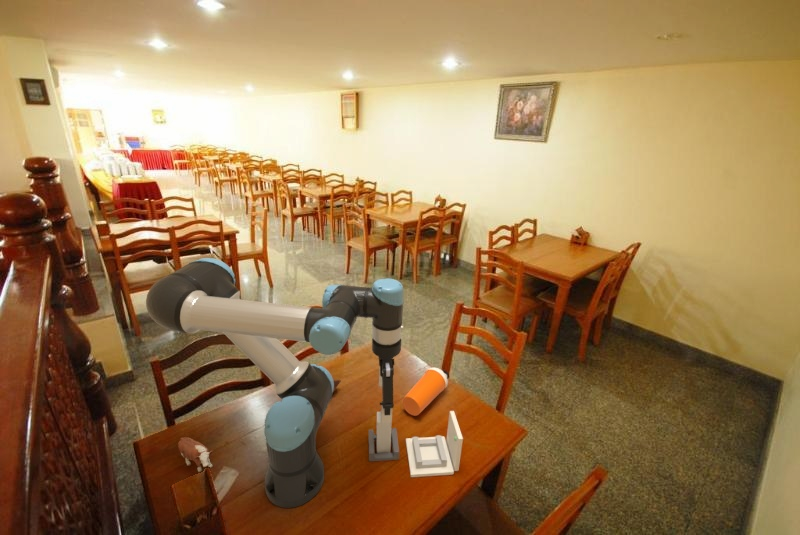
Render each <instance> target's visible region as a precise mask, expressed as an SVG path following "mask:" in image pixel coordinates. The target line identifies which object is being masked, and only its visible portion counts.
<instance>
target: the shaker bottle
mask: <svg viewBox="0 0 800 535" xmlns="http://www.w3.org/2000/svg"><path fill="white" fill-rule="evenodd" d="M449 378H450V374H449V372H447V371H446V370H444V369H440V368H438V367H434V366H433V367H429V368H428V369H427V370H426V371H425V372H424V374H423V375H422V376H421V377H420V379H419V380H418V381H417V382H416V383H415V384H414V386H412V387H411V389H410V390H409V391H408V392H407V393H406V395H405V396H404V397H403V398H402V402H401V404H402V407H403V409H404V410H405V411H406V412H407V413H408V414H409V415H411V416H413V417H414V416H415V417H416V416H419V415H420V414H421V413H422V412H423V411H424V410H425V408H427V407H428V406H429V405H430V404H431V403H432V402H433V401H434V399H436V398H437V396H439V394H441V393H442V392H444V391H445V389H446V388H447V387H448V385H449V382H448V381H449Z"/></svg>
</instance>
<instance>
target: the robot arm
mask: <svg viewBox="0 0 800 535" xmlns="http://www.w3.org/2000/svg"><path fill="white" fill-rule="evenodd" d="M235 285H236V278H235V273H234V271H233V269H232V268H231V267H230V266H229V265H228V264H227V263H226V262H223V261H222V260H220V259H217V258H212V257H203V258H200V259H197V260H194V261H190V262H189V263H187V264H185V265H184V266H182V267H180V268H178V269H177V270H175V271H173V272H171V273H169V274H168V275H165V276H164V277H161V278H160V279H158V280H157V281H156V282H155V283H154V284H152V286H151V287H150V288H149V290H148V292H147V294H146V299H145V307H146V312H147V313H148V315H149V317H150V318H151V320H152V321H154V322H155V323H156V324H157V325H159V326H160V327H162V328H164V329H167V330H169V331H173V332H176V333H183V334H184V333H185V334H196V333H199V332H200V331H206V332H207V331H208V332H217V333H223V334H224V335H225V336H226V337H227V338H228V339H229V340H230V342H232V344H234V345H235V346H236V347H237V348H238V349H239V350H240V351H241V352H242V353H243V354H244V355H245V356H246V357H247V358H248V360H250V361H251V362H252V363H253V364H254V365H255V366H256V367H257V368H258V369H259V370H260V371H261V372H262V373H263V374H264V375H265V376H266V377H267V378H268V379H269V380H270V381H271V382H272V383H274V385H275V391H274V392H275V394H276V396H278V398H280V399H281V401H276V402H274V403H273V404H272V405H271V406H270V408H269V410H268V411H267V412H266V415H265V418H264V427H263V430H264V431H263V432H264V437H265V444H266V448H267V451H266V452H267V456H268V466H267V470H266V473H265V476H264V489H265V494H266V497H267V499H268V500H269V502H270V503H272V504H273V505H275V506H277V507H279V508H284V509H285V508H286V509H291V508H296V507H300V506H303V505H305V504H306V503H308V502H309V501H311V500H312V499H314V497H315V496H317V494H319V491H320V490H321V489H322V487H323V484H324V480H325V467H324V463H323V461H322V459H321V457H320V456H319V454H318V452H317V448H316V446H317V444H316V436H317V432H318V430H319V428H320V425H321V421H322V420H323V418H324V415H325V413H326V410H327V408H328V405H329V403H330V402H331V400H332V399H333V398H332V397H333V393H334V392H333V390H334V381H333V380H334V379H333V376H332V374H331V373H330V371H329V370H328V369H327V368H325V367H324V366H322V365H318V364H315V363H311V364H310V362H308V361H306V360H304V361H300V360H299V359H298V358H297V357H296V356H295V355H294V354H293V353H292V352H291V351H290V350H289V349H288V348H287V347H286V346H285V345H284V344H283V343H282V342H281V340H285V341H286V340H287V341H295V342H305V343H309V344H310V346H311V347H312V348H313V350H315V351H316V352H319V353H320V354H322V355H327V356H331V355H335V354H337V353H339V352H340V351H341V350H342V349H343V348H344V346H345V344H346V343H347V341H348V340H349V338H350V335H351V332H352V331H353V330H352V329H353V327H354V325H355V323H356V321H357V318H363V319H365V318H366V319H369V318H371V319H372V320H371V322H372V324H371V339H372V340H371V350H372V353H373V354H374V355H375V356H377V357H378V365H379V368H378V371H379V372H378V387H379V388H382V400H381V402H379V406H381V408H382V415H381V423H388V422H393V409H394V407H395V404H394V374H395V373H394V370H395V369H394V365H395V357H397V356H398V355H399V354H400V353H401V350H402V332H403V331H402V330H405V326H404V325H403V316H404V314H403V313H404V312H403V311H404V300H405V299H404V286H403V284H402V283H401V281H399V280H397V279H394V278H380V279H376V280H375V281H374V282H373V284H372V286H369V287H367V286H365V287H364V286H357V285H355V286H354V285H348V284H347V285H345V284H329V285H327V286H326V287H325V289H324V292H323V294H322V301H321V302H322V303H321V304H322V307H311V306H309V307H308V306H303V305H291V304H284V303H277V302H275V303H274V302H266V301H264V302H263V301H258V300H257V301H256V300H247V299H241V298H240V297H241V296H240V295H241V291H240V290H239V289H238V287H237V286H235ZM334 391H335V390H334Z"/></svg>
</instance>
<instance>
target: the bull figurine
mask: <svg viewBox="0 0 800 535" xmlns="http://www.w3.org/2000/svg"><path fill="white" fill-rule="evenodd" d="M177 447H178V450H179V452H180V454H181V456H182V457H183V458H184V459H185V464H186V466H191V465H192V463H191V461H193V462H194V463H195V464H196V466H197V472H198V473H201V472H202V471H203V468H205V467H208V468H209V467H210V468H209V469H212V468H213V466H214V464H213V463H212V462H211V461H210V455H211V454H213V452H214V449H212V450H210V451H209V448H208V447H207V446H205V445H204V444H203V443H201V442H199V441H198V440H195V439H193V438H191V437H188V436H185V437H180V438H179V441H178V443H177ZM201 464H202V466H201ZM202 467H203V468H202Z"/></svg>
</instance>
